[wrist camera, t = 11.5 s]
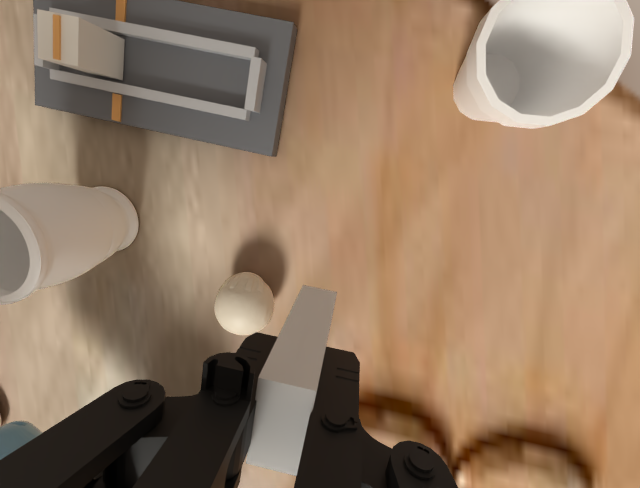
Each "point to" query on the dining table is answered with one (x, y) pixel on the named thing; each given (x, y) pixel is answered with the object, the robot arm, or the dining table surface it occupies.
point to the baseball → (244, 304)
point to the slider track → (180, 71)
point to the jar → (58, 234)
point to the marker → (116, 98)
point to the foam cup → (543, 60)
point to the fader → (79, 45)
